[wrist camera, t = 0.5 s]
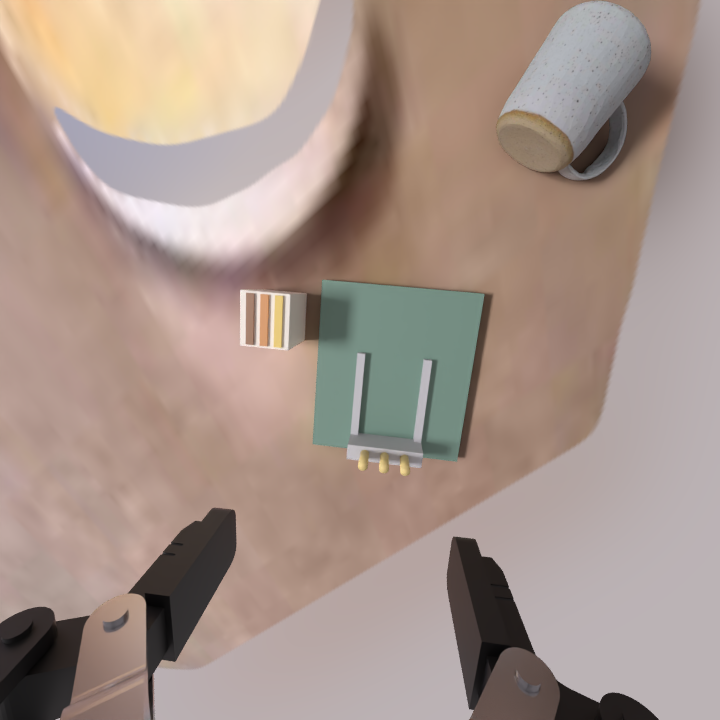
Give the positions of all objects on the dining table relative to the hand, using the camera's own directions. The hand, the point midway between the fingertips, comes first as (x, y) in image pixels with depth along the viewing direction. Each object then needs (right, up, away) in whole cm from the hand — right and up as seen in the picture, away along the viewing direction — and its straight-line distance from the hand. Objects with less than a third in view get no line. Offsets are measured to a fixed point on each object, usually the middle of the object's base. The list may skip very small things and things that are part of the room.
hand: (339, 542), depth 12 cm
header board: (+4, +5, +24) cm, 25 cm away
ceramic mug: (+18, +27, +18) cm, 38 cm away
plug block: (-7, +11, +23) cm, 27 cm away
